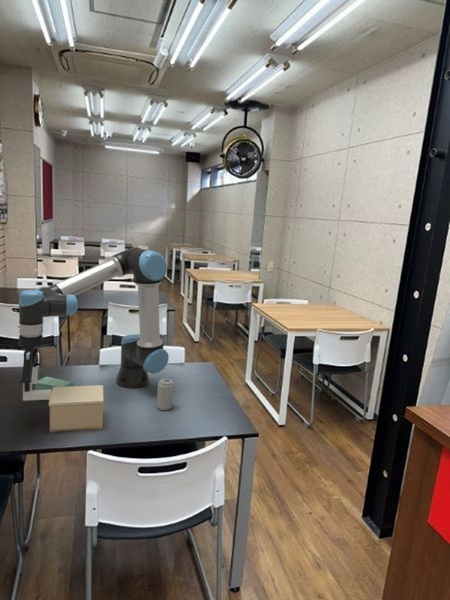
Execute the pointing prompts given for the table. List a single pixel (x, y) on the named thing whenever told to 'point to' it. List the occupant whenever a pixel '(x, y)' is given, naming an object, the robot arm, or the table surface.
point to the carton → (76, 417)
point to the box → (51, 384)
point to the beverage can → (165, 394)
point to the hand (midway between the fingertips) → (30, 391)
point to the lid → (71, 395)
